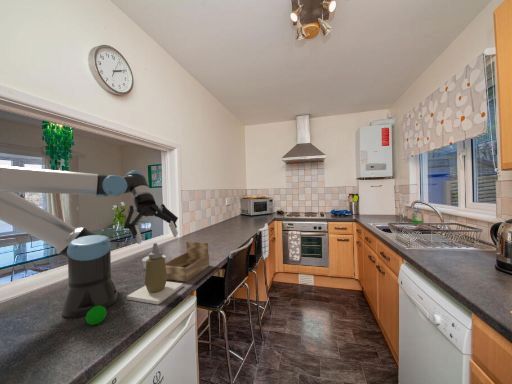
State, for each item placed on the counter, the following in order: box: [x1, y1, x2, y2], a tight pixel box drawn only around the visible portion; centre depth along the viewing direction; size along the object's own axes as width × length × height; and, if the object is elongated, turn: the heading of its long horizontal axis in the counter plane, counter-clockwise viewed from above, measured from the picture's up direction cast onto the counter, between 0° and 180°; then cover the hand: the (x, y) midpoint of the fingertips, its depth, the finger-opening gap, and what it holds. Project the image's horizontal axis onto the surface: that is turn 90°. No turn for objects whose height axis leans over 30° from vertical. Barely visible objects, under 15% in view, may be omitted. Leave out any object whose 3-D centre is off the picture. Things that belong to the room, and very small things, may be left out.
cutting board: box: [126, 280, 184, 305], centre depth 80 cm, size 14×14×1 cm
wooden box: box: [165, 241, 210, 283], centre depth 100 cm, size 14×20×12 cm
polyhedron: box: [85, 306, 108, 326], centre depth 62 cm, size 5×5×5 cm
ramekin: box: [141, 254, 167, 271], centre depth 107 cm, size 11×11×5 cm
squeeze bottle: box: [144, 242, 168, 293], centre depth 80 cm, size 8×8×18 cm
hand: (159, 238), depth 79 cm, fingers open, 13 cm apart
